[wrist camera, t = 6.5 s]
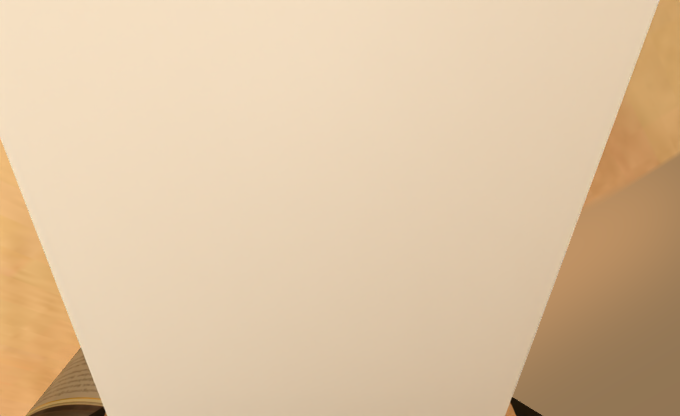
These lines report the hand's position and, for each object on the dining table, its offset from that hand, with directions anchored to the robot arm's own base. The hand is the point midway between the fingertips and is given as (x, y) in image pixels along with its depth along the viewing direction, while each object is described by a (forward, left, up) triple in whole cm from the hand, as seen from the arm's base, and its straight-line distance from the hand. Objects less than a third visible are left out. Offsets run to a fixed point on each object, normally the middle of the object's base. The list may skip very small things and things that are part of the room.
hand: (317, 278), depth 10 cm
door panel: (0, 0, -3) cm, 3 cm away
